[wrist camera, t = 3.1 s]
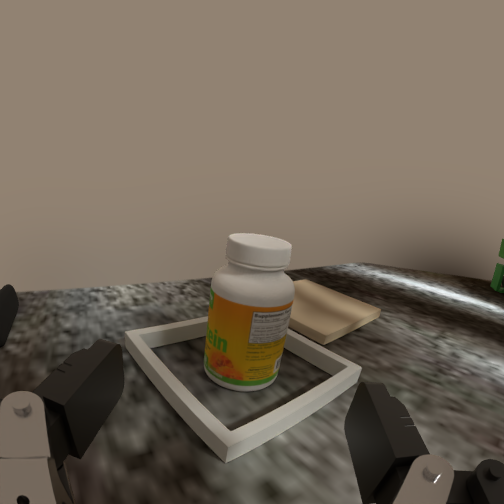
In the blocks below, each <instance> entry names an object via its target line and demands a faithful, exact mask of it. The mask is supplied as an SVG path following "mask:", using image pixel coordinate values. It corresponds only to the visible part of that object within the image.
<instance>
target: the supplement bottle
mask: <svg viewBox="0 0 504 504" xmlns="http://www.w3.org/2000/svg"><path fill="white" fill-rule="evenodd" d="M291 248H292V246H291V244H290V243H289V242H287V241H285V240H282V239H279V238H275V237H271V236H266V235H260V234H250V233H237V234H231V235H229V237H228V242H227V248H226V259H227V260H228V261H229V263H228V265H226V266H223V267H221V268H220V269H218V270H217V271H216V272H215V274H214V275H213V278H212V284H211V292H210V302H209V312H208V323H207V333H206V343H205V354H204V369H205V372H206V374H207V375H208V377H209V378H210V379H211V380H213V381H214V382H215V383H217V384H218V385H220V386H222V387H225V388H228V389H231V390H235V391H243V392H248V391H256V390H260V389H263V388H265V387H267V386H269V385H270V384H272V383H273V382H274V380H275V379H276V377H277V374H278V371H279V367H280V362H281V358H282V353H283V348H284V344H285V339H286V334H287V330H288V325H289V320H290V315H291V310H292V305H293V300H294V293H295V287H294V283H293V281H292V280H291V279H290V277H289V276H287V275H286V274H285V273H284V269H286V268H287V267H288V264H289V263H290V256H291Z"/></svg>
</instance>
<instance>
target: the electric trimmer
mask: <svg viewBox="0 0 504 504" xmlns="http://www.w3.org/2000/svg"><path fill="white" fill-rule="evenodd" d="M18 306H19V302H18V298H17V295H16V292H15V290H14V288H13V286H11V285H6V286H4V287H3V288H2V289H1V290H0V347H1V346H3V345H4V344H5V341H6V339H7V337H8V334H9V331H10V328H11V326H12V323H13V320H14V318H15V315H16V313H17V310H18Z"/></svg>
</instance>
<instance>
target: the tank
mask: <svg viewBox="0 0 504 504" xmlns="http://www.w3.org/2000/svg"><path fill="white" fill-rule="evenodd" d="M499 256H500V257H501V258H504V239H502V243H501V247H500V252H499ZM503 275H504V265H502V264H498V263H497V265H496V268H495V272H494V276H493V279H492V283H491V287H492V288H493V289H494V290H495V291H498V292H500V293H504V288H501V287H500V286H501V282H502V286H503V287H504V276H503Z"/></svg>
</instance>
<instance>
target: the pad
mask: <svg viewBox="0 0 504 504" xmlns="http://www.w3.org/2000/svg"><path fill="white" fill-rule="evenodd" d="M293 283H294V287H295V293H294V300H293V305H292V310H291V315H290V320H289V325H288V327H290V328H292V329H294V330H296V331H298V332H299V333H301V334H303V335H305V336H307V337H309V338H311V339H313V340H314V341H316V342H318V343H320V344H322V345H325V344H327V343H329V342H331V341H333V340H335V339H337V338H340V337H342V336H344V335H346V334H347V333H349V332H351V331H353V330H355V329H357V328H359V327H361V326H363V325H365V324H367V323H369V322H371V321H372V320H374V319H376V318H378V317H379V315H380V311H381V309H379V308H376V307H374V306H371V305H369V304H366V303H364V302H361V301H359V300H356V299H354V298H351V297H349V296H346V295H344V294H341V293H339V292H336V291H334V290H331V289H329V288H326V287H324V286H321V285H319V284H317V283H314V282H312V281H309V280H307V279H304V280H299V281H293Z"/></svg>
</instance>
